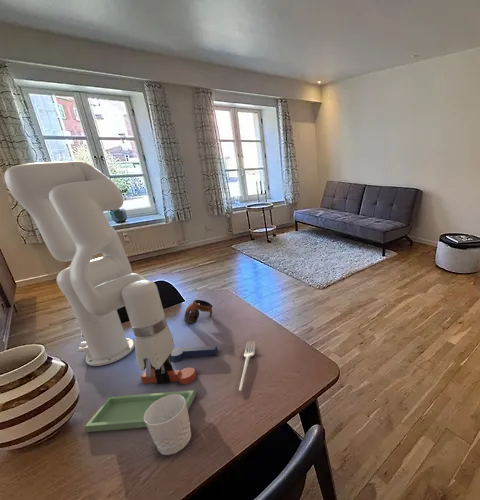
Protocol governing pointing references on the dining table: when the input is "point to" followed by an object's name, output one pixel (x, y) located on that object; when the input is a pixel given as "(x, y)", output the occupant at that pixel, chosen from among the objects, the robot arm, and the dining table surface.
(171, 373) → the terracotta spoon
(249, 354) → the fork
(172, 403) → the white cup
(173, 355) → the blue spoon
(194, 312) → the orange headphones
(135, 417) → the tray
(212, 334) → the dining table surface
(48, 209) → the robot arm
